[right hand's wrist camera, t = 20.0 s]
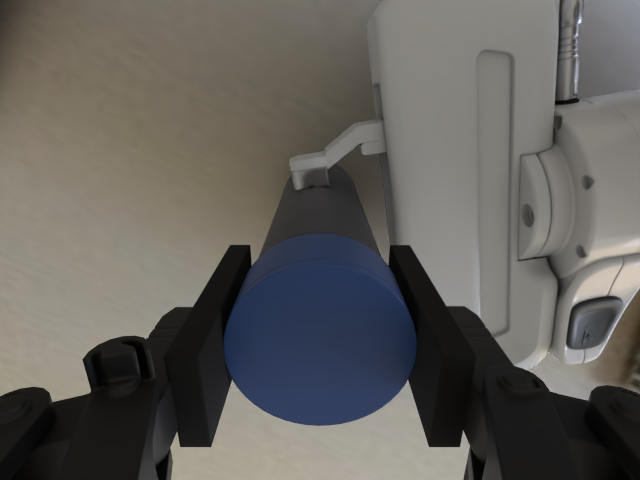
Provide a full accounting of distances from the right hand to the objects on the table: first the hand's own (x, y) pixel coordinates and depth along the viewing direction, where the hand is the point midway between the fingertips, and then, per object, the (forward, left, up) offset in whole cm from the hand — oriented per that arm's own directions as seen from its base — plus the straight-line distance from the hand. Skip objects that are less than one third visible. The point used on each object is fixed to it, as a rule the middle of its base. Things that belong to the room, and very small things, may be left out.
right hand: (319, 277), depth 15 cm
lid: (0, 0, +4) cm, 4 cm away
